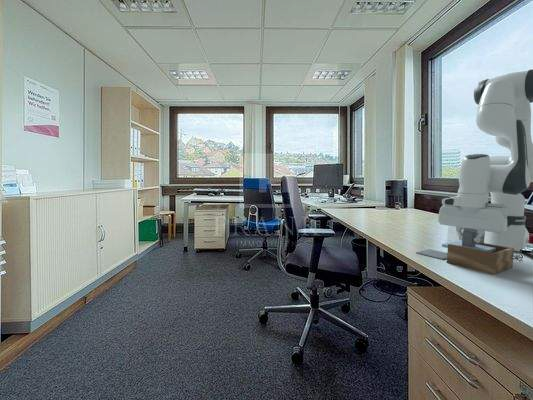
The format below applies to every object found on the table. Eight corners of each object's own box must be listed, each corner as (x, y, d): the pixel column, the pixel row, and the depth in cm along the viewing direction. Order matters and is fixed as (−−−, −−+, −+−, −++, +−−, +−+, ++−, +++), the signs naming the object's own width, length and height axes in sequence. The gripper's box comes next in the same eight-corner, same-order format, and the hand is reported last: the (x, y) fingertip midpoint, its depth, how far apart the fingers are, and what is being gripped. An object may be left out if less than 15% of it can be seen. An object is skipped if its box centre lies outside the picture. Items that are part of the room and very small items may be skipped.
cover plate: (457, 243, 112) (458, 227, 112) (495, 250, 102) (497, 233, 102) (441, 246, 106) (443, 230, 106) (481, 255, 96) (482, 236, 95)
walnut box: (465, 257, 111) (467, 240, 111) (512, 267, 99) (514, 248, 99) (446, 262, 104) (448, 244, 103) (494, 274, 92) (496, 253, 91)
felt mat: (430, 250, 121) (430, 249, 121) (456, 256, 112) (456, 255, 112) (416, 253, 115) (416, 252, 115) (442, 259, 107) (442, 258, 107)
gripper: (513, 204, 96) (509, 246, 97) (446, 198, 113) (443, 235, 114) (505, 205, 92) (501, 249, 94) (437, 199, 109) (434, 236, 111)
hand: (468, 241), depth 104 cm, fingers closed on cover plate, 3 cm apart
